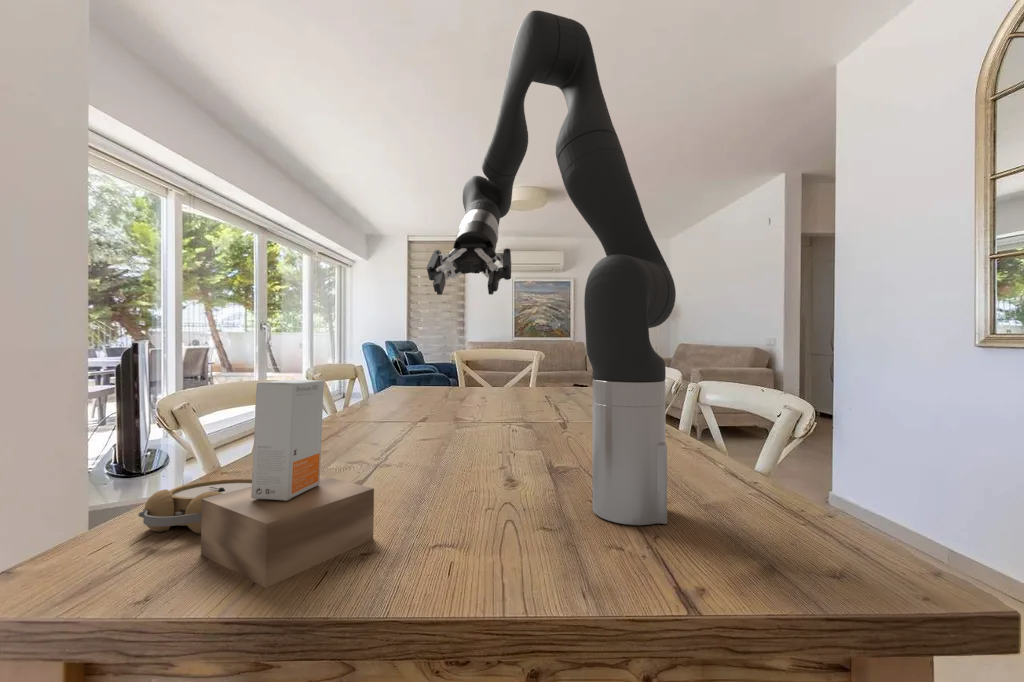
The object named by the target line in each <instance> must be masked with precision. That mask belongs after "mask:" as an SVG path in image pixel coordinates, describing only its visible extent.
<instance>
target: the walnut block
mask: <svg viewBox="0 0 1024 682" xmlns="http://www.w3.org/2000/svg"><path fill="white" fill-rule="evenodd" d="M251 491H252V487H248V488H244V489H240V490H236V491H232V492H228V493H224V494H220V495H216V496H212V497H208V498H204V499H202V520H201V534H200V555H201V556H203V557H205V558H207V559H208V560H211V561H212V562H215V563H217V564H218V565H220V566H222V567H224V568H226V569H228V570H230V571H232V572H234V573H236V574H238V575H239V576H242V577H243V578H246V579H247V580H250V581H251V582H253V583H255V584H257V585H258V586H261V587H263V588H265V589H267V588H269V587H271V586H274V585H276V584H278V583H280V582H282V581H284V580H286V579H289V578H291V577H293V576H295V575H298V574H299V573H302V572H304V571H307V570H308V569H312V568H313V567H315V566H317V565H320V564H322V563H324V562H326V561H329V560H331V559H334V558H335V557H337V556H340V555H341V554H344V553H346V552H348V551H351V550H352V549H353V550H354V549H355V548H357V547H359V546H361V545H364V544H366V543H368V542H370V541H372V540H374V522H375V521H374V517H375V515H374V514H375V513H374V511H375V488H373V487H370V486H366V485H362V484H357V483H354V482H349V481H346V480H343V479H338V478H333V477H329V476H325V475H322V474H320V484H319V485H318V486H316V487H313V488H311V489H309V490H307V491H305V492H303V493H301V494H299V495H297V496H294V497H292V498H291V499H289V500H287V501H284V500H270V499H254V498H252V497H251Z"/></svg>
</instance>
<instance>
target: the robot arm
mask: <svg viewBox="0 0 1024 682" xmlns="http://www.w3.org/2000/svg"><path fill="white" fill-rule="evenodd" d="M591 41H592V40H591V37H590V35H589V33H588V31H587V29H586V28H585V26H584V25H583V24H582V23H580V22H578V21H577V20H575V19H572V18H568V17H565V16H562V15H558V14H554V13H550V12H548V11H543V10H531V11H530V12H528V13H527V14H526V15H525V16H524V18H523V20H522V21H521V22H520V26H519V27H518V31H517V32H516V36H515V38H514V42H513V47H512V50H511V55H510V59H509V63H508V67H507V68H508V69H507V73H506V77H505V81H504V84H503V85H504V86H503V90H502V91H503V92H502V96H501V102H500V106H499V111H498V116H497V120H496V124H495V128H494V131H493V134H492V137H491V140H490V142H489V145H488V147H487V150H486V152H485V156H484V158H483V161H482V164H481V165H482V166H481V169H482V172H483V175H484V176H482V175H473V176H471V177H470V178H468V179H467V180H466V182H465V184H464V186H463V189H462V205H463V209H464V212H465V213H464V216H463V218H462V220H461V222H460V225H459V227H458V231H457V234H456V237H455V240H454V243H453V248H452V250H451V251H449V253H442V252H441V250H440V249H435V250H433V252H432V254H431V257H430V259H429V261H428V264H427V265H426V271H427V275H428V279H429V281H432V285H433V291H434V292H435V293H436V294H437V295H438V296H442V295H443V293H444V290H445V287H446V282H447V281H448V280H450V279H455V278H457V277H458V276H459V275H460V276H461V275H463V274H480V273H481V274H483V275H484V276H485V277H486V278H488V279H487V280H488V281H487V291H488V295H491V296H492V295H494V293H495V292H497V291H498V290H499V284H500V281H501V280H502V279H504V280H506V281H509V280H510V279H511V278H512V254H511V253H512V252H511V251H512V250H511V249H510V248H504V249H503V252H496V250H497V248H496V247H497V243H498V240H499V225H500V220H501V219H502V218H504V217H505V216H506V215H507V214H508V213H509V211H510V209H511V206H512V199H513V187H514V182H515V179H516V176H517V174H518V171H519V169H520V168H521V164H522V163H523V160H525V159H524V158H525V156H526V153H527V151H528V146H529V131H528V125H527V120H526V119H527V118H526V113H525V100H526V96H527V93H528V90H529V88H530V86H531V85H532V83H536V84H537V83H538V84H543V85H548V86H552V87H557V88H558V89H560V91H561V93H562V95H563V97H564V99H565V103H566V107H567V113H566V116H565V118H564V120H563V122H562V125H561V127H560V129H559V132H558V136H557V139H556V145H555V157H556V162H557V165H558V169H559V172H560V175H561V179H562V183H563V186H564V188H565V190H566V193H567V195H568V197H569V199H570V200H571V201H570V202H571V203H572V204H573V206H574V207H575V208H576V209H577V211H578V212H579V213H580V216H582V219H584V221H585V222H586V224H587V225H588V226H589V227H590V229H591V230H592V232H593V233H594V234H595V236H596V237H597V239H598V241H599V242H600V243H601V246H602V248H603V250H604V253H605V255H606V256H605V257H603V258H601V259H600V260H599V261H597V262H596V264H594V265H593V266H592V269H591V270H590V272H589V275H588V277H587V279H586V282H585V283H586V284H585V288H584V296H583V297H584V300H583V301H584V304H583V305H584V326H585V327H584V329H585V330H584V331H585V346H586V347H585V348H586V355H587V359H588V360H589V363H590V366H591V368H592V369H591V370H592V433H591V434H592V440H591V441H592V443H591V444H592V463H591V464H592V465H591V466H592V472H591V473H592V484H591V485H592V489H591V490H592V492H591V493H592V494H591V496H592V497H591V498H592V512H593V513H594V514H595V515H596V516H598V517H600V518H601V519H604V520H606V521H609V522H613V523H616V524H622V525H629V526H646V525H648V526H649V525H654V524H663V525H666V524H668V446H667V443H666V441H667V437H666V431H667V430H666V429H667V428H666V420H667V419H666V410H667V409H666V406H667V405H666V380H667V379H666V378H667V377H666V372H667V371H666V363H665V360H664V359H663V357H662V356H660V355H659V354H658V353H657V352H656V351H655V349H654V348H653V345H652V343H651V340H650V339H651V338H650V329H651V328H655V327H658V326H661V325H662V324H663V323H665V322H666V321H667V320H668V319H669V317H670V316H671V314H672V312H673V310H674V307H675V303H676V297H677V294H676V285H675V281H674V278H673V275H672V273H671V270H670V268H669V266H668V264H667V262H666V261H665V259H664V256H663V255H662V253H661V250H660V248H659V247H658V245H657V242H656V241H655V238H654V236H653V233H652V232H651V229H650V227H649V225H648V222H647V220H646V216H645V215H644V214H645V213H644V211H643V208H642V205H641V201H640V197H639V195H638V192H637V190H636V187H635V184H634V182H633V178H632V176H631V173H630V169H629V167H628V163H627V160H626V157H625V153H624V151H623V147H622V145H621V142H620V139H619V137H618V134H617V132H616V129H615V126H614V124H613V122H612V118H611V115H610V112H609V109H608V106H607V102H606V99H605V95H604V93H603V90H602V86H601V81H600V78H599V74H598V67H597V63H596V58H595V53H594V49H593V45H592V44H593V43H592V42H591ZM497 261H498V262H499V264H501V267H499V266H498V265H497V264H496V262H497ZM445 271H446V272H445Z"/></svg>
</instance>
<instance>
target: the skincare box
mask: <svg viewBox="0 0 1024 682" xmlns="http://www.w3.org/2000/svg"><path fill="white" fill-rule="evenodd" d="M324 383H325V381H324V380H315V379H314V380H313V379H282V380H272V381H257V383H256V388H255V389H256V392H255V411H254V412H255V413H254V414H255V416H254V433H253V435H254V436H253V453H252V469H251V470H252V471H251V472H252V473H251V479H252V491H251V497H252V498H254V499H270V500H284V501H287V500H289V499H291V498H292V497H294V496H297V495H299V494H301V493H303V492H305V491H307V490H309V489H311V488H313V487H316V486H318V485H319V484H320V475H321V456H322V437H323V435H322V432H323V409H324V408H323V407H324V386H325V384H324Z"/></svg>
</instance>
